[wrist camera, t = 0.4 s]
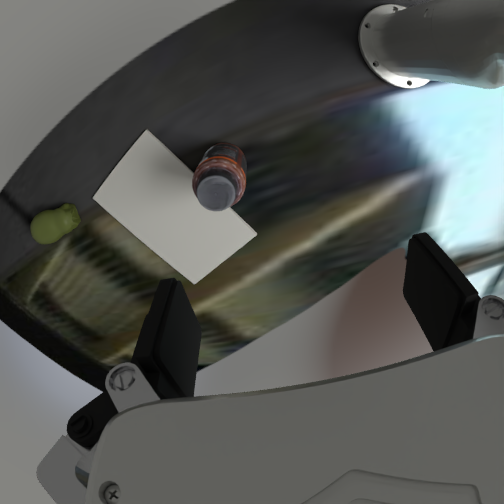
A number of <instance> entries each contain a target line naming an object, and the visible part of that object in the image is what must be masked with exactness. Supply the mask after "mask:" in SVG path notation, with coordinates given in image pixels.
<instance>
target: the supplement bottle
mask: <svg viewBox="0 0 504 504" xmlns="http://www.w3.org/2000/svg"><path fill="white" fill-rule="evenodd" d="M246 167H247V166H246V158H245V156H244V154H243V152H242V151H241V150H240V149H239V148H238V147H237V146H235V145H232V144H229V143H219V144H216V145H214V146H212V147H211V148H209V149H208V150H207V151H206V153H205V154H204V156H203V158H202V159H201V161H200V163H199V165H198V167H197V168H196V170H195V172H194V175H193V179H192V188H193V191H194V194H195V196H196V197H197V199H198V201H199V203H200V204H201V205H202V206H203V207H204V208H206V209H208V210H210V211H222V210H225V209H227V208H228V207H230V206H232V205H234V204H235V203H237V202H238V201H239V200H240V198H241V197H242V195H243V193H244V190H245V187H246Z"/></svg>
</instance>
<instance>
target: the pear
mask: <svg viewBox="0 0 504 504" xmlns="http://www.w3.org/2000/svg"><path fill="white" fill-rule="evenodd" d="M80 221H81V219H80V217H79V215H78V212H77V210H76V207H75V205H74V204H68V203H65V204H63V205H62V206H61V207H59V208H57V209H55V210H45V211H42V212H40V213H39V214H37V215H36V216H35V217H34V218H33V220H32V222H31V227H30V230H31V234H32V237H33V238H34V239H35V241H37V242H38V243H40V244H50V243H53V242H56V241H57V240H59V239H60V238H61V237H62V236H63V235H64V234H66V233H69V232H71V231H72V229H74V228H76V227H77V226H78V224H79V223H80Z"/></svg>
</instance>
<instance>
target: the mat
mask: <svg viewBox="0 0 504 504" xmlns="http://www.w3.org/2000/svg"><path fill="white" fill-rule="evenodd" d="M193 175H194V173H193V172H192V171H191V170H190V169H189V168H188V167H187V166H186V165H185V164H184V163H183V162H182V161H181V160H180V159H179V158H177V157H176V156H175V155H174V154H173V153H172V152H171V151H170V150H169V149H168V148H167V147H166V146H165V145H164V144H163V143H161V142H160V141H159V140H158V139H157V138H156V137H155V136H154V135H153V134H152V133H151V132H150V131H149V130H146V131H145V132H144V133H143V134H142V135H141V136H140V138H139V139H138V140H137V141H136V142H135V143H134V145H133V146H132V147H131V148H130V149H129V151H128V152H127V153H126V154H125V156H124V157H123V158H122V159H121V161H120V162H119V163H118V164H117V166H116V167H115V168H114V170H113V171H112V172H111V174H110V175H109V176H108V178H107V179H106V180H105V182H104V183H103V184H102V186H101V187H100V188H99V190H98V191H97V193H96V194H95V195H94V197H93V199H94V200H95V201H96V202H97V203H99V204H100V205H101V206H102V207H103V208H104V209H105V210H106V211H107V212H109V213H110V214H111V215H112V216H113V217H114V218H115V219H117V220H118V221H119V222H120V223H121V224H122V225H123V226H125V227H126V228H127V229H128V230H129V231H130V232H131V233H133V234H134V235H135V236H136V237H137V238H138V239H140V240H141V241H142V242H143V243H144V244H146V245H147V246H148V247H149V248H150V249H152V250H153V251H154V252H155V253H156V254H158V255H159V256H160V257H161V258H162V259H164V260H165V261H166V262H167V263H168V264H170V265H171V266H172V267H173V268H175V269H176V270H177V271H178V272H180V273H181V274H182V275H183V276H184V277H186V278H187V279H188V280H190V281H191V282H192V283H193V284H196V283H197V282H198V281H199V280H201V279H202V278H203V277H204V276H206V275H207V274H208V273H210V272H211V271H212V270H213V269H215V268H216V267H217V266H218V265H220V264H221V263H222V262H223V261H225V260H226V259H227V258H228V257H230V256H231V255H232V254H233V253H235V252H236V251H237V250H238V249H240V248H241V247H242V246H243V245H245V244H246V243H247V242H249V241H250V240H251V239H252V238H254V237H255V236H256V235H257V233H256V232H255V231H254V230H253V229H252V228H251V227H250V226H249V225H248V224H247V223H246V222H245V221H244V220H243V219H242V218H241V217H240V216H239V215H238V214H237V213H235V212H234V211H233V210H232V209H231V208H230V207H228V208H227V209H225V210H222V211H210V210H208V209H206V208H204V207H203V206H202V205H201V204H200V203H199V201H198V199H197V197H196V196H195V194H194V191H193V188H192V179H193Z"/></svg>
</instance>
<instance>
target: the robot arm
mask: <svg viewBox="0 0 504 504" xmlns="http://www.w3.org/2000/svg"><path fill="white" fill-rule="evenodd" d="M393 10H394V11H393ZM365 25H366V26H367V28H366V27H365ZM358 41H359V47H360V50H361V54H362V56H363V58H364V60H365V62H366V63H367V65H368V66H369V68H370V69H371V70H372V71H373V72H374V73H375V74H376V75H377V76H378V77H379V78H381V79H382V80H383V81H385V82H387V83H389V84H390V85H393V86H396V87H401V88H409V89H411V88H417V87H420V86H423V85H425V84H426V83H428V82H429V81H430V80H434V81H442V82H449V83H455V84H461V85H467V86H473V87H479V88H484V89H495V88H499V87H502V86H504V0H432V1H429V2H425V3H422V4H418V5H415V6H412V7H409V8H406V7H404V6H400V5H395V4H387V5H381V6H379V7H376V8H374V9H372V10H371V11H369V12H368V13H367V14H366V15H365V16H364V18H363V20H362V21H361V24H360V27H359V32H358ZM373 63H374V64H375V65H374V66H373ZM407 82H408V84H407ZM403 294H404V297H405V299H406V301H407V303H408V305H409V306H410V308H411V310H412V312H413V314H414V315H415V317H416V319H417V321H418V323H419V324H420V326H421V328H422V330H423V332H424V334H425V335H426V338H427V339H428V341H429V343H430V345H431V347H432V349H433V351H434V352H431V353H428V354H425V355H421V356H418V357H415V358H412V359H408V360H405V361H401V362H398V363H394V364H391V365H387V366H384V367H379V368H376V369H372V370H367V371H364V372H359V373H355V374H351V375H346V376H341V377H337V378H332V379H327V380H322V381H317V382H311V383H306V384H300V385H294V386H287V387H281V388H275V389H267V390H260V391H251V392H242V393H232V394H221V395H210V396H198V397H194V388H195V380H196V372H197V364H198V357H199V349H200V342H201V334H202V333H201V327H200V325H199V322H198V320H197V318H196V316H195V313H194V311H193V309H192V307H191V304H190V302H189V300H188V297H187V295H186V293H185V290H184V288H183V286H182V283H181V282H180V281H177V280H176V279H175V278H169V279H163V280H161V281H160V282H159V285H158V288H157V291H156V294H155V296H154V299H153V302H152V305H151V308H150V311H149V314H147V315H146V317H145V320H144V323H143V326H142V329H141V332H140V335H139V338H138V341H137V344H136V347H135V350H134V353H133V357H132V360H131V363H122V364H119V365H117V366H116V367H114V368H113V369H112V370H111V371H110V372H109V374H108V375H107V378H106V383H105V385H106V389H107V390H106V391H104V392H103V393H102V394H100V395H99V396H98V397H96V398H95V399H93V400H92V401H91V402H89V403H88V404H87V405H85V406H84V407H83V408H81V409H80V410H78V411H77V412H76V413H74V414H73V416H71V418H70V419H69V421H68V424H67V433H68V434H67V436H66V437H65V436H63V435H62V436H61V438H60V439H59V440H58V441H57V443H56V444H55V445H54V446H53V448H52V449H51V450H50V451H49V452H48V454H47V455H46V456H45V457H44V459H43V460H42V461H41V463H40V464H39V466H38V467H37V478H38V480H39V482H40V483H41V484H42V486H43V487H44V489H45V490H46V491H47V492H48V494H49V495H50V496H51V497H52V498H53V500H54V501H55V502H56V503H57V504H504V300H503V299H501V298H500V297H497V296H493V295H489V296H485V297H483V298H482V299H481V298H480V297H479V295H478V292H477V290H476V289H475V288H474V287H473V285H472V284H471V283H470V282H469V280H468V279H467V278H466V277H465V275H464V274H463V273H462V272H461V271H460V269H459V268H458V267H457V266H456V265H455V264H454V262H453V261H452V260H451V259H450V258H449V257H448V256H447V254H446V253H445V252H444V251H443V250H442V249H441V248H440V247H439V245H438V244H437V243H436V242H435V241H434V240H433V239H432V238H431V237H430V236H429V235H428V234H427V233H425V232H424V233H419V234H414V235H413V236H412V239H410V240H409V244H408V254H407V264H406V272H405V279H404V287H403Z"/></svg>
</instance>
